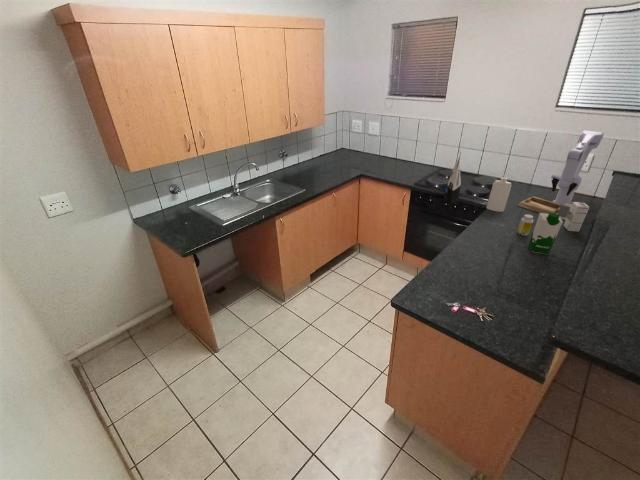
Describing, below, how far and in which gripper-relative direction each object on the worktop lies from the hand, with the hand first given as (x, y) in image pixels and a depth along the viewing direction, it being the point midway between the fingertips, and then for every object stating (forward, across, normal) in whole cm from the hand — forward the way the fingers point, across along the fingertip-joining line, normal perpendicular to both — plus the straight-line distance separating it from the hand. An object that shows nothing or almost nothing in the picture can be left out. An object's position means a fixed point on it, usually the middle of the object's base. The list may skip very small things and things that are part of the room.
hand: (560, 193), depth 188 cm
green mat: (+10, +7, -5) cm, 14 cm away
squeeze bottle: (+11, -20, -29) cm, 37 cm away
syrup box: (+11, +17, -19) cm, 28 cm away
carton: (+10, -6, -5) cm, 13 cm away
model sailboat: (+11, -47, -35) cm, 60 cm away
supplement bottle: (+12, +5, -45) cm, 47 cm away
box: (+10, +7, -5) cm, 13 cm away
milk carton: (+12, +18, -56) cm, 60 cm away
